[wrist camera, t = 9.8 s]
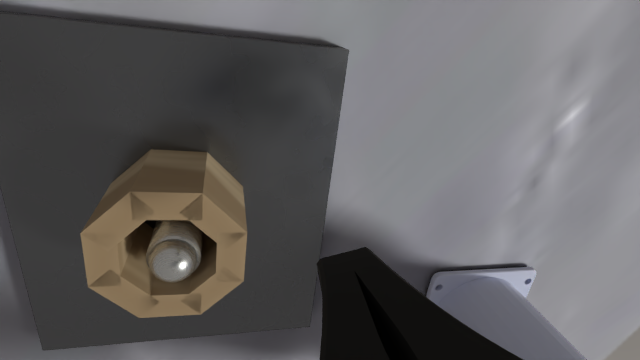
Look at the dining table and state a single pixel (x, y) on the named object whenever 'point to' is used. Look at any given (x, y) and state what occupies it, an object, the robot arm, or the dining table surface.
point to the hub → (163, 134)
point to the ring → (135, 235)
